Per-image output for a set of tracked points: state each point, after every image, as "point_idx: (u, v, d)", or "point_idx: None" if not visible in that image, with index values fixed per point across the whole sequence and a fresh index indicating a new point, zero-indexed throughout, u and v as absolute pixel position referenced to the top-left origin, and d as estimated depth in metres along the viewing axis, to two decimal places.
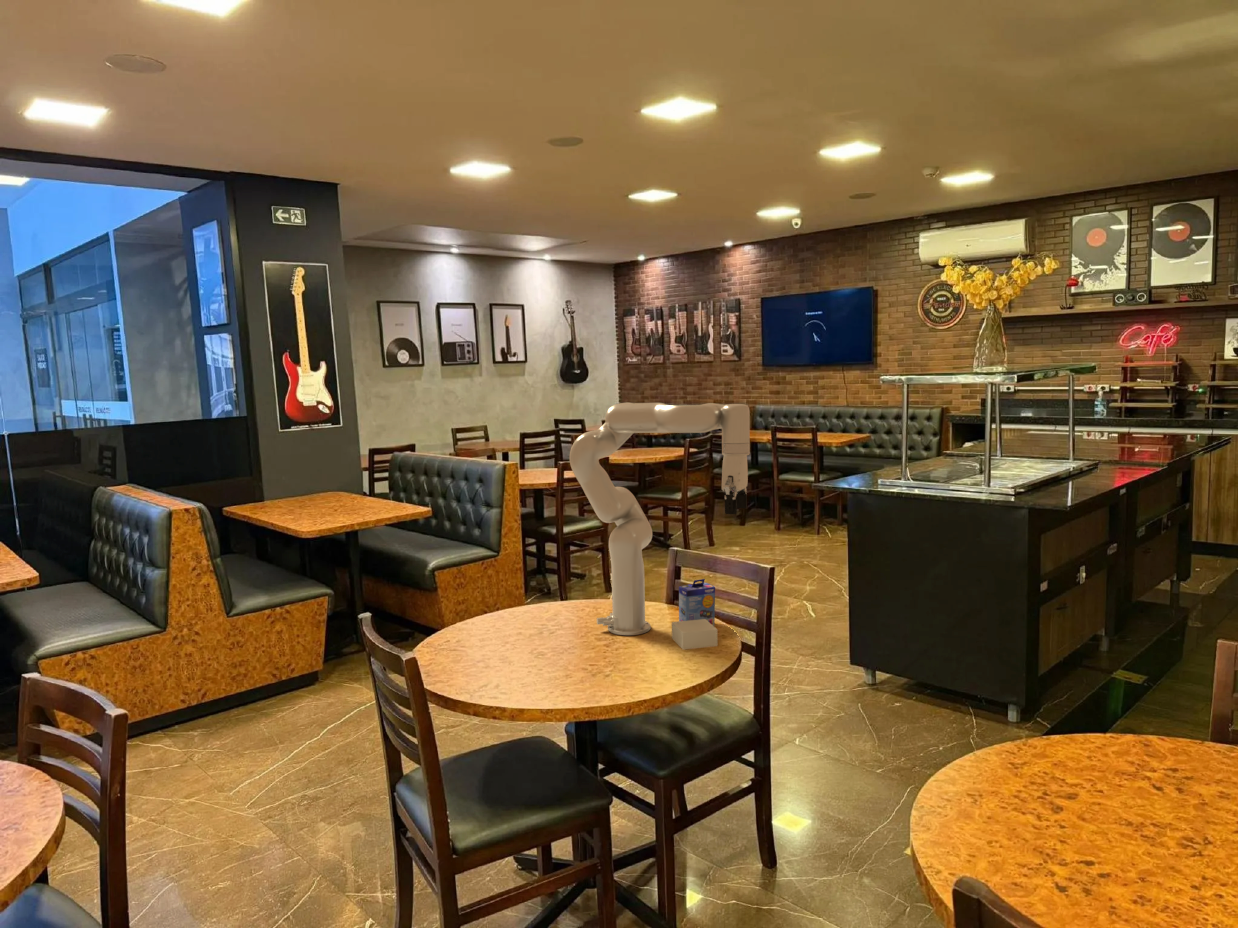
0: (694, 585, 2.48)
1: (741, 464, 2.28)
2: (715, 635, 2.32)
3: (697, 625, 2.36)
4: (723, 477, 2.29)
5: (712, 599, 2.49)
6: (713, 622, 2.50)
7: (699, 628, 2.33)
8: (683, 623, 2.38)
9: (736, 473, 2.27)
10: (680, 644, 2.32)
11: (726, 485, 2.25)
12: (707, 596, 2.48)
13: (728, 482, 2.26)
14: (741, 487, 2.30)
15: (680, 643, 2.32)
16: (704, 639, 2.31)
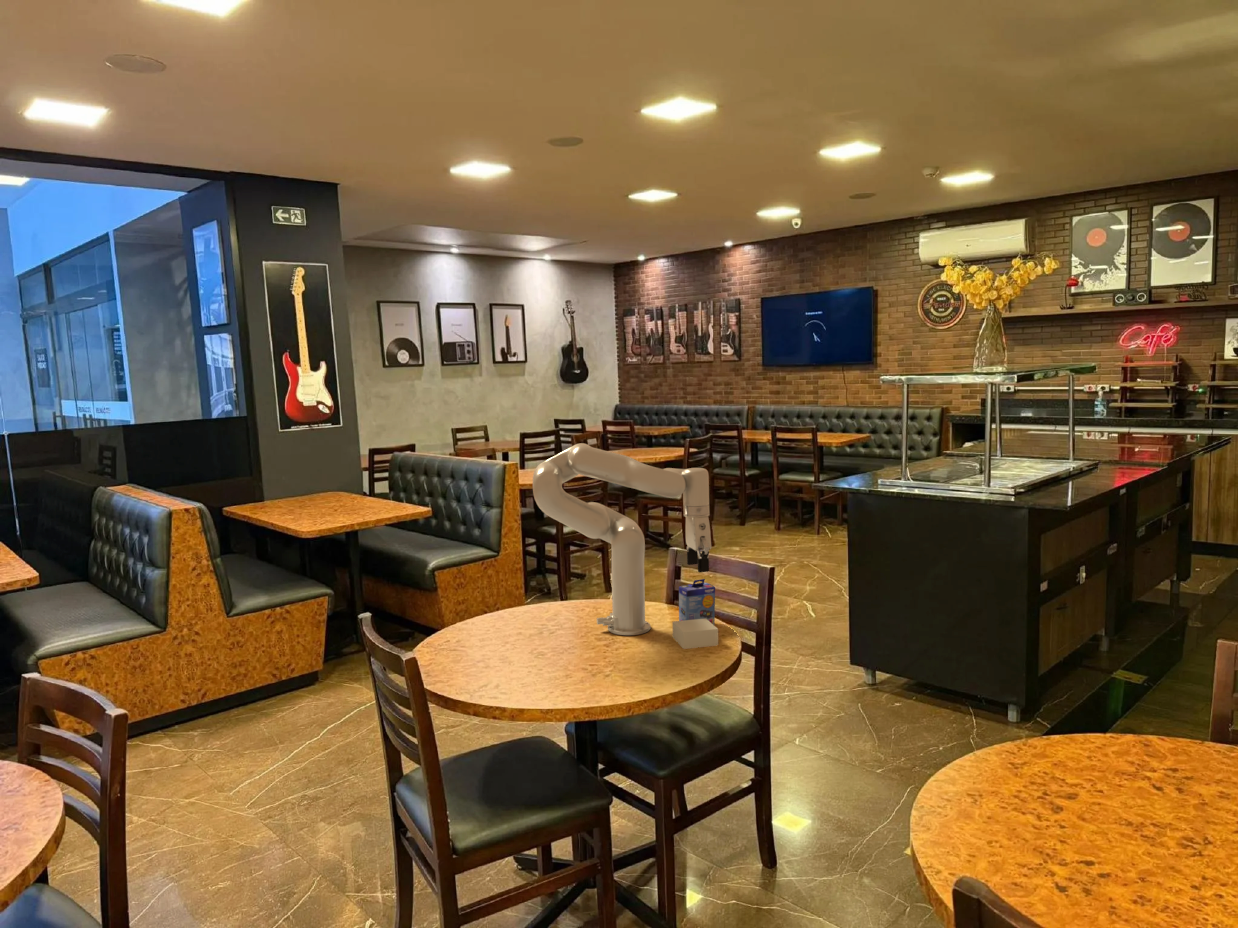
0: (694, 585, 2.48)
1: (686, 522, 2.49)
2: (716, 635, 2.32)
3: (697, 624, 2.36)
4: None
5: (712, 599, 2.49)
6: (713, 622, 2.50)
7: (699, 628, 2.33)
8: (684, 622, 2.38)
9: None
10: (681, 643, 2.32)
11: None
12: (707, 596, 2.48)
13: None
14: (688, 544, 2.49)
15: (681, 642, 2.33)
16: (705, 639, 2.32)
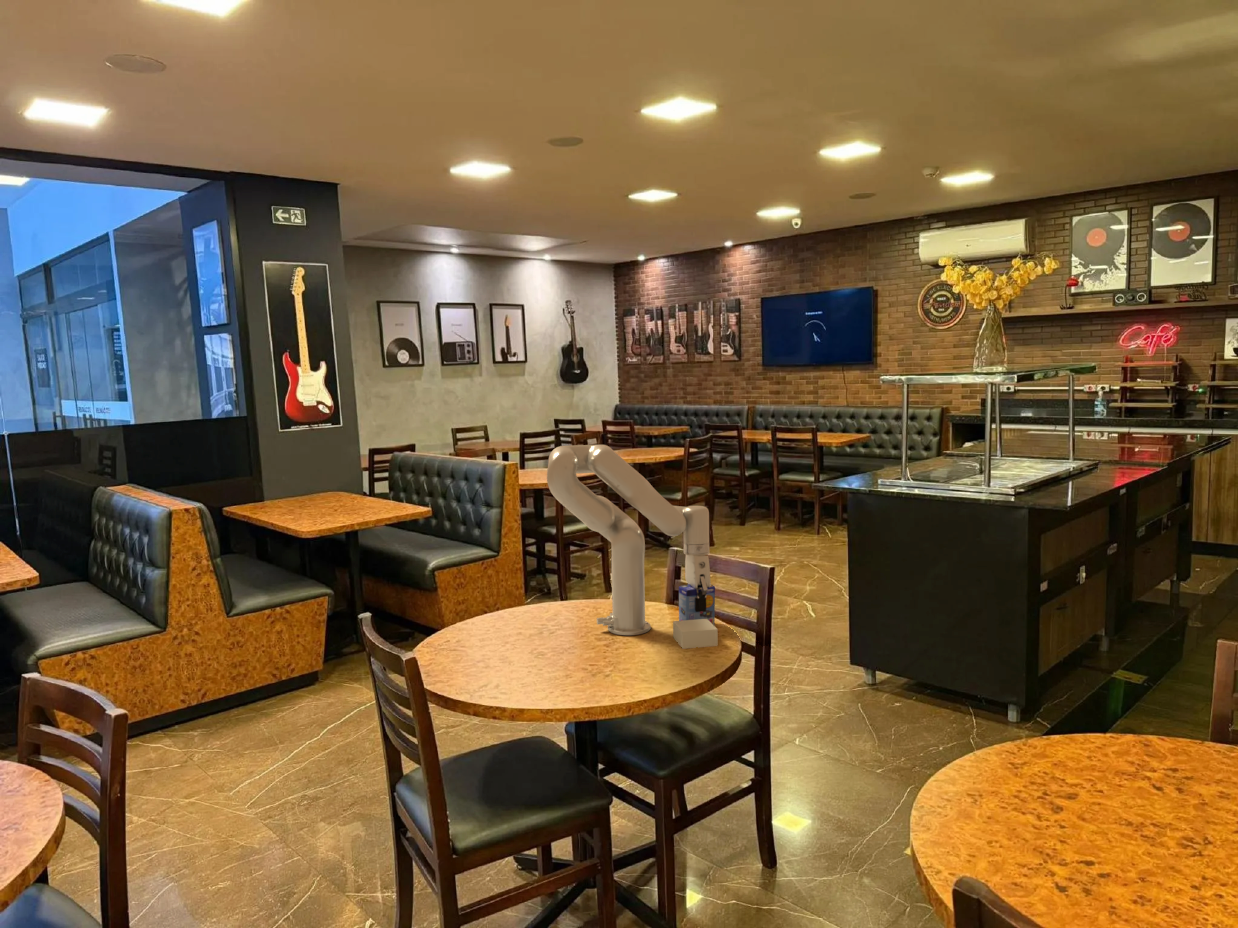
0: None
1: (685, 559, 2.50)
2: (715, 635, 2.32)
3: (697, 624, 2.36)
4: None
5: (712, 599, 2.49)
6: (713, 622, 2.50)
7: (699, 628, 2.33)
8: (684, 622, 2.38)
9: None
10: (680, 643, 2.33)
11: None
12: (707, 596, 2.48)
13: None
14: (687, 581, 2.50)
15: (680, 642, 2.33)
16: (704, 639, 2.32)
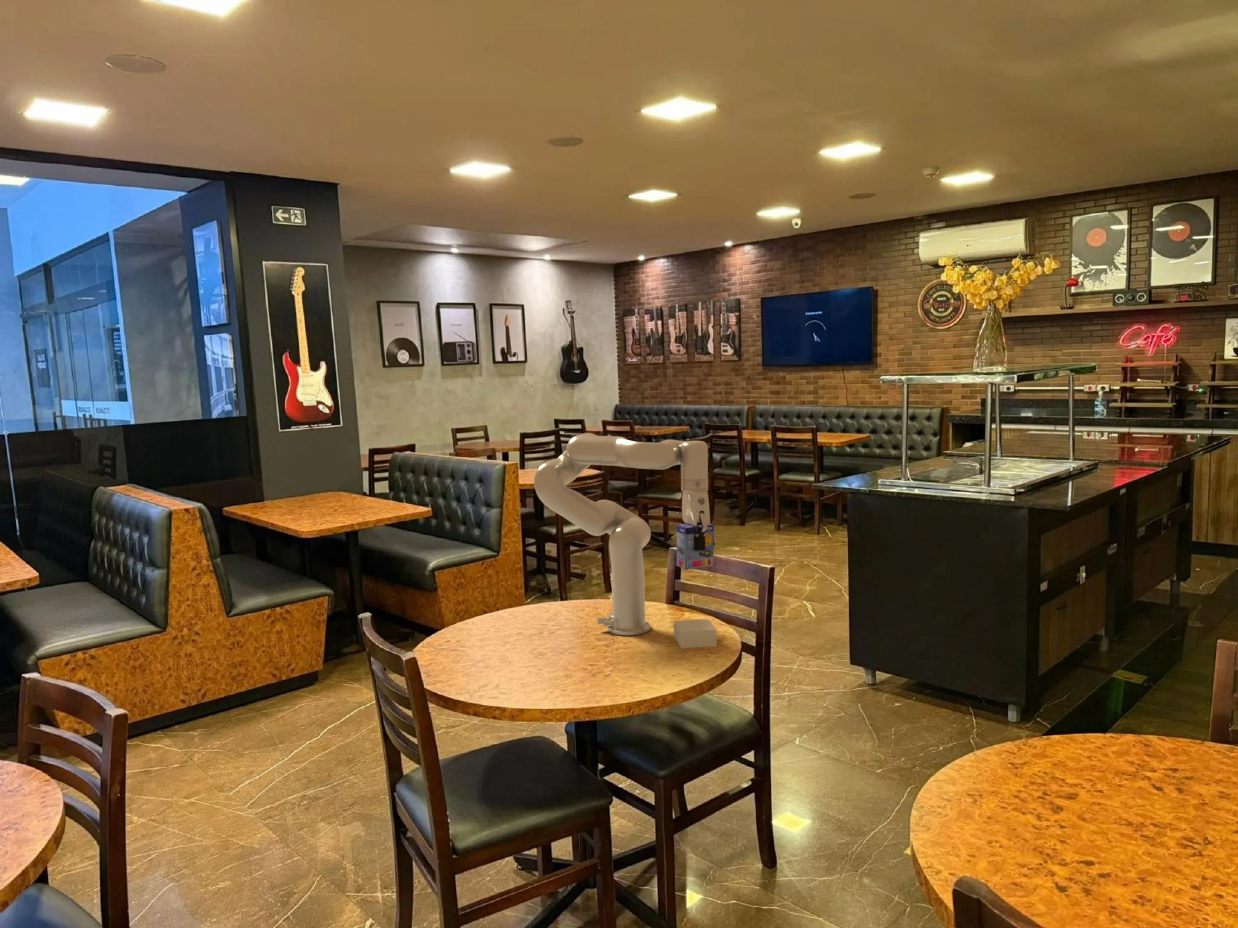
0: None
1: (683, 497, 2.40)
2: (714, 635, 2.32)
3: (697, 624, 2.36)
4: None
5: (711, 537, 2.39)
6: (712, 562, 2.41)
7: (698, 628, 2.33)
8: (685, 622, 2.39)
9: None
10: (679, 643, 2.33)
11: None
12: (706, 534, 2.38)
13: None
14: (685, 520, 2.40)
15: (679, 642, 2.33)
16: (703, 639, 2.32)
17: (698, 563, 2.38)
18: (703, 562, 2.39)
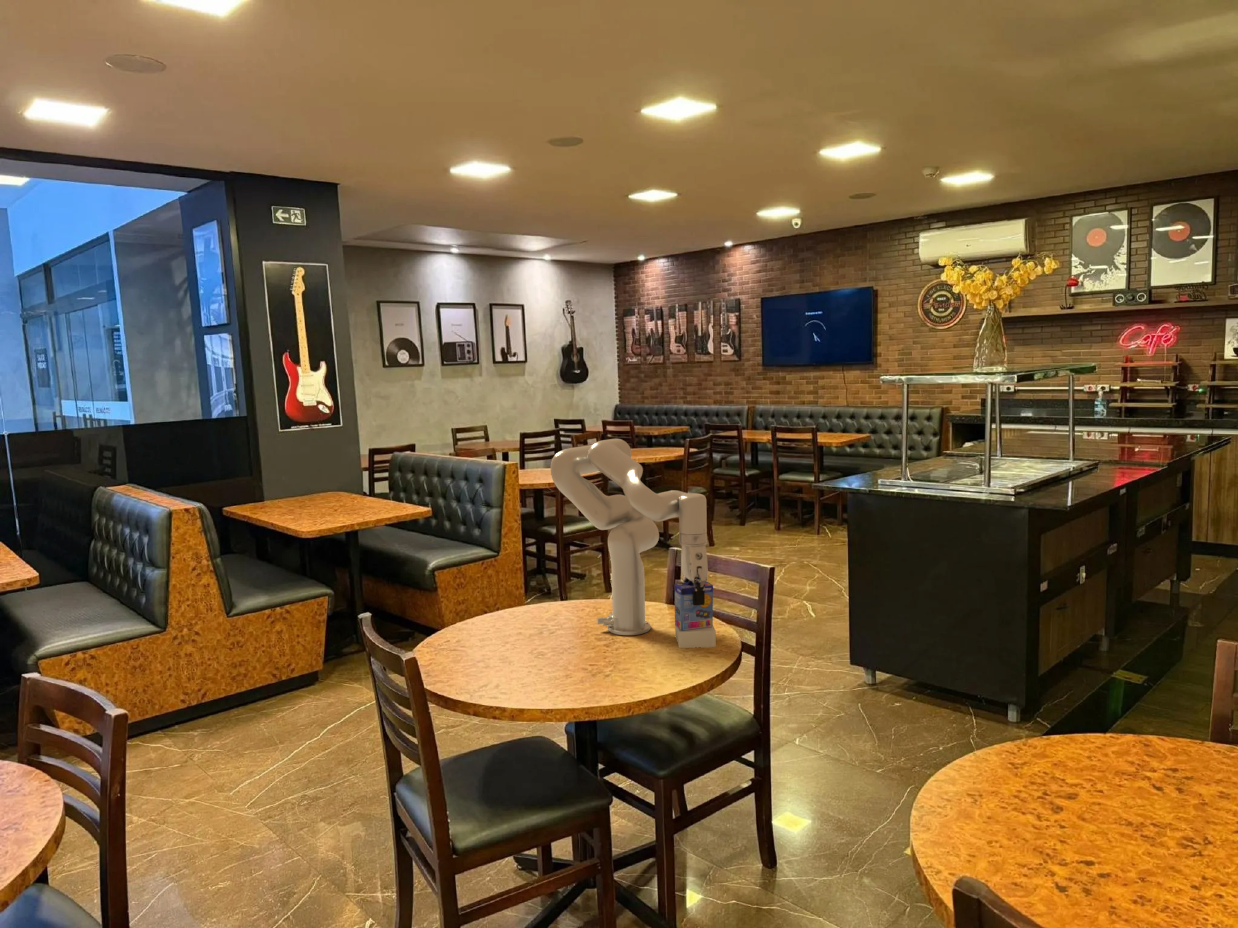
0: (690, 583, 2.33)
1: (681, 550, 2.35)
2: (713, 636, 2.31)
3: None
4: None
5: (710, 598, 2.33)
6: (711, 623, 2.34)
7: None
8: None
9: None
10: (678, 643, 2.33)
11: None
12: None
13: None
14: (684, 573, 2.35)
15: (678, 642, 2.33)
16: (702, 640, 2.31)
17: (695, 624, 2.32)
18: (701, 623, 2.33)
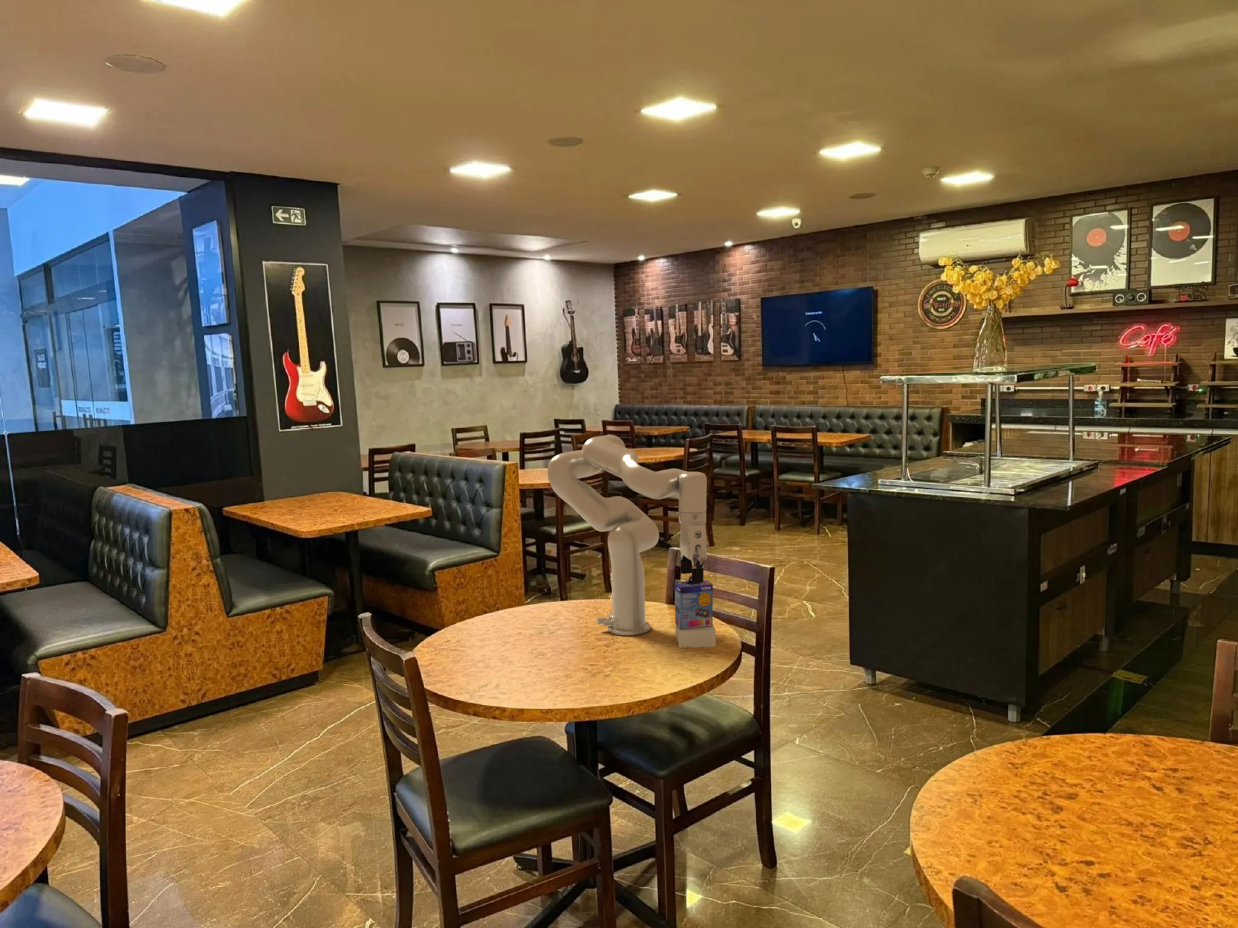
0: (690, 582, 2.34)
1: (681, 529, 2.35)
2: (713, 636, 2.32)
3: None
4: None
5: (709, 597, 2.33)
6: (711, 622, 2.34)
7: (698, 628, 2.33)
8: None
9: None
10: (678, 642, 2.34)
11: None
12: (703, 594, 2.33)
13: None
14: (682, 552, 2.35)
15: (678, 641, 2.34)
16: (702, 639, 2.32)
17: (694, 623, 2.33)
18: (700, 622, 2.33)
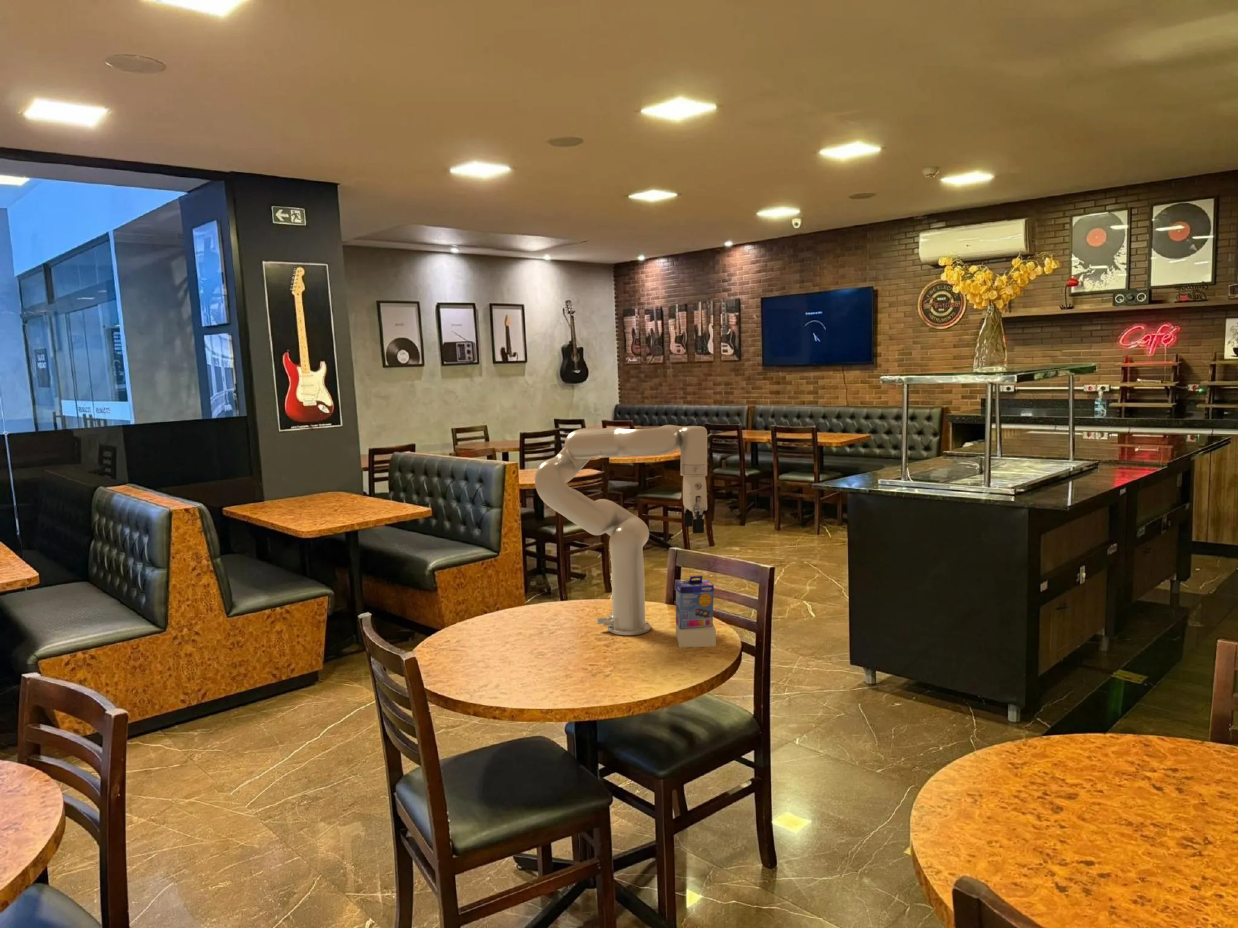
0: (691, 582, 2.33)
1: (683, 482, 2.42)
2: (713, 635, 2.32)
3: None
4: None
5: (710, 598, 2.33)
6: (711, 622, 2.34)
7: (698, 627, 2.33)
8: None
9: None
10: None
11: None
12: (704, 594, 2.32)
13: None
14: (685, 504, 2.41)
15: (678, 641, 2.34)
16: (702, 639, 2.32)
17: (694, 623, 2.33)
18: (700, 622, 2.33)
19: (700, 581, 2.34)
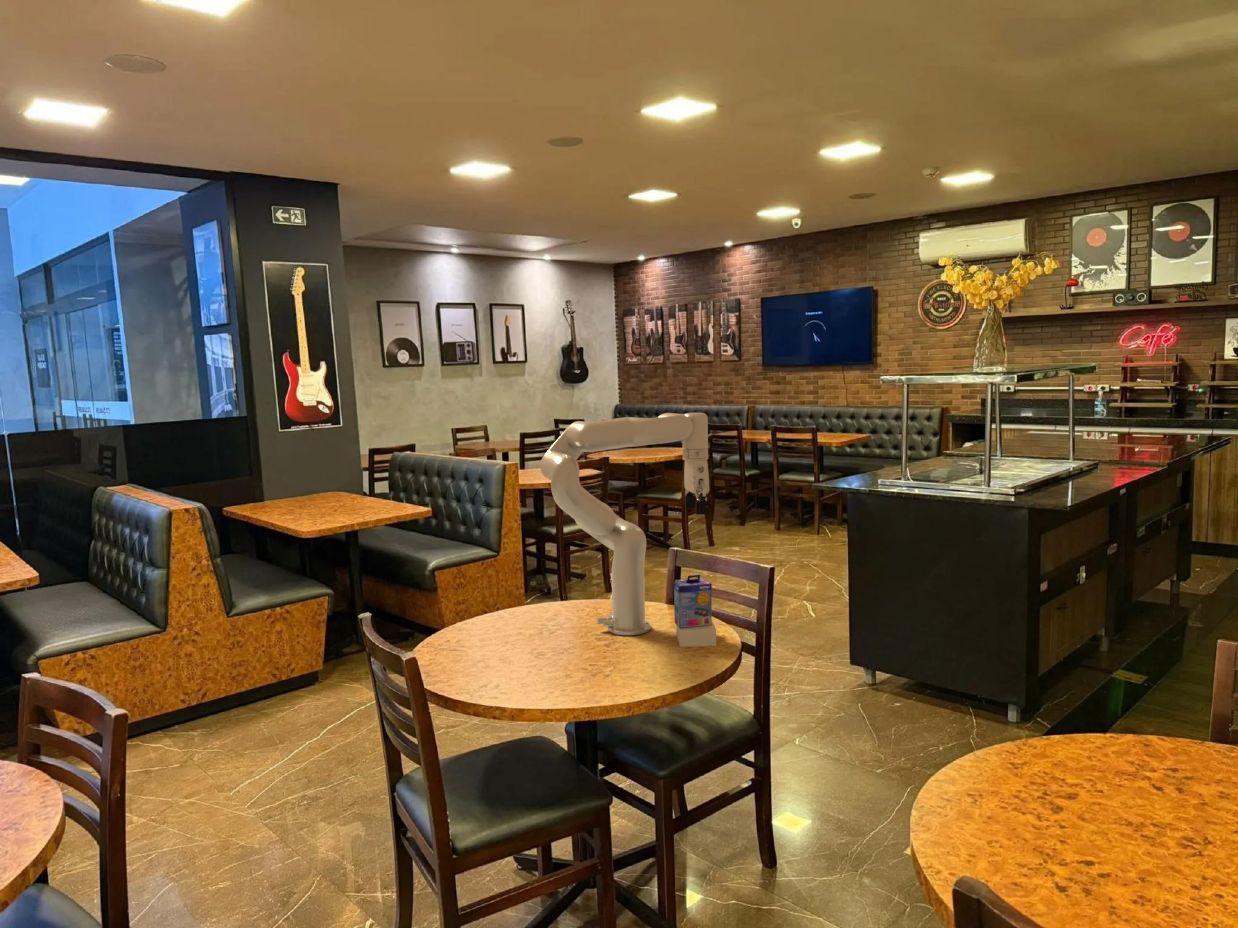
0: (689, 581, 2.34)
1: (684, 466, 2.53)
2: (714, 635, 2.32)
3: None
4: None
5: (708, 596, 2.34)
6: (710, 621, 2.35)
7: (698, 627, 2.34)
8: None
9: None
10: (679, 642, 2.34)
11: None
12: (702, 593, 2.33)
13: None
14: (686, 488, 2.53)
15: (679, 640, 2.34)
16: (703, 638, 2.32)
17: (693, 622, 2.34)
18: (699, 621, 2.34)
19: (698, 580, 2.35)
